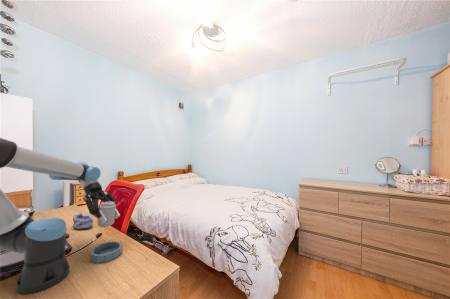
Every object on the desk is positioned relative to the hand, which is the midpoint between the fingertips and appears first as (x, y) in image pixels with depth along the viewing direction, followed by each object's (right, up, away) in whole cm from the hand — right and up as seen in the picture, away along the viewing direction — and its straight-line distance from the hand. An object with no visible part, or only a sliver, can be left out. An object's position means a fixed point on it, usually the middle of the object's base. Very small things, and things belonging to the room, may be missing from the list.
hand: (111, 219), depth 93 cm
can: (-4, -4, +1) cm, 5 cm away
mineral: (-36, -16, +25) cm, 47 cm away
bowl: (0, -16, -5) cm, 17 cm away
